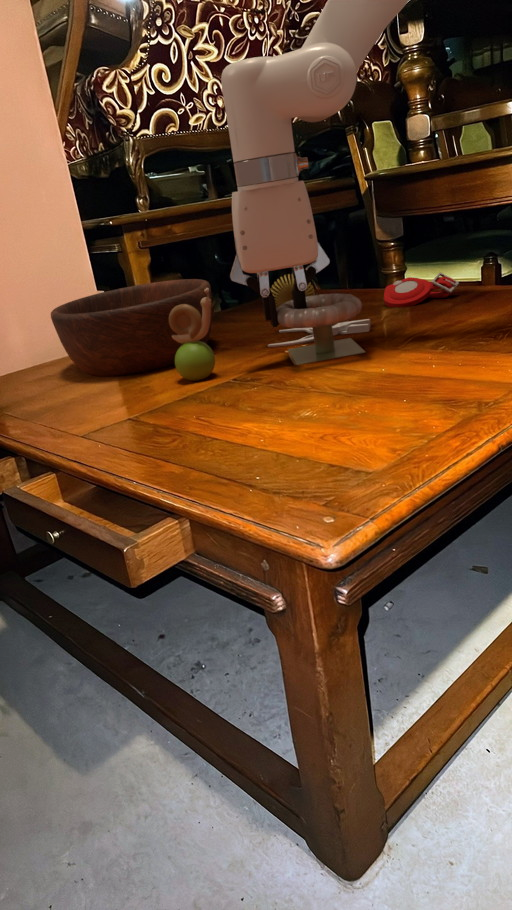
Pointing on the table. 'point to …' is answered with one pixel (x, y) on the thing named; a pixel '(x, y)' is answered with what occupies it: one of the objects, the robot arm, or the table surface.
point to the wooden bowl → (126, 326)
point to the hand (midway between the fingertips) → (287, 321)
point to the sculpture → (287, 290)
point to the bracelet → (319, 311)
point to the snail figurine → (192, 340)
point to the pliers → (337, 329)
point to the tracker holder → (417, 290)
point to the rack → (324, 347)
